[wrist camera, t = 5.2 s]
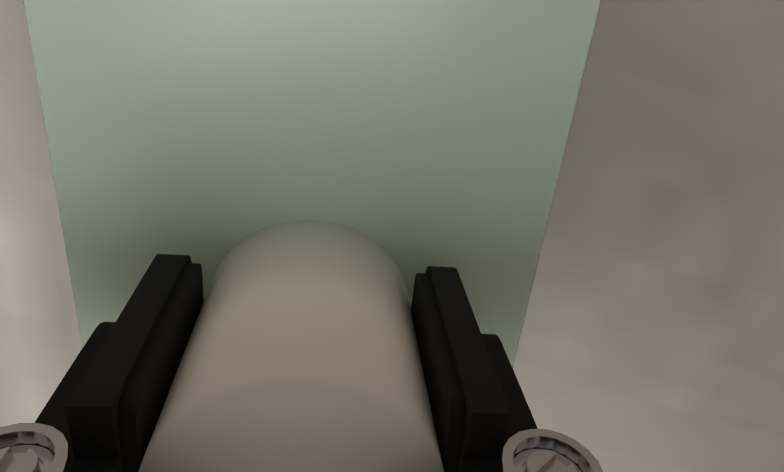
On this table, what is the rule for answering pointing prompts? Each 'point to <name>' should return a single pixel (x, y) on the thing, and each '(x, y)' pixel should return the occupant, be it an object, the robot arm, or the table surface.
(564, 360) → the table surface
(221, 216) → the lid
